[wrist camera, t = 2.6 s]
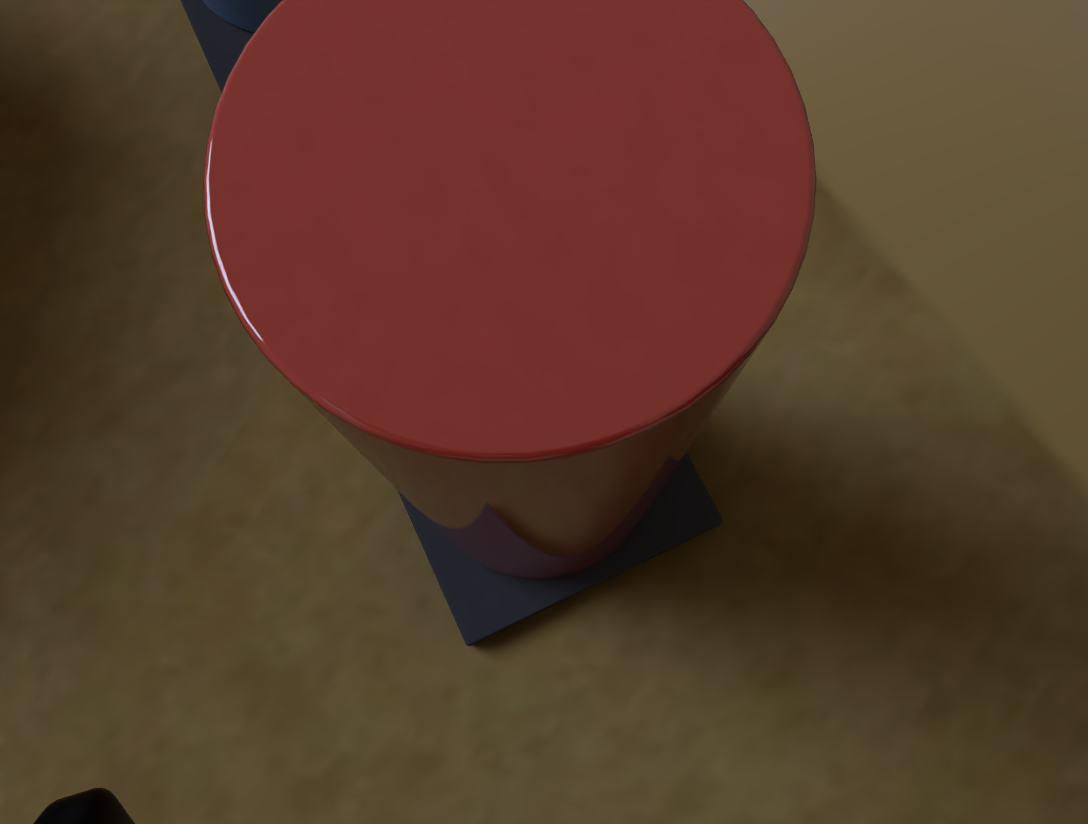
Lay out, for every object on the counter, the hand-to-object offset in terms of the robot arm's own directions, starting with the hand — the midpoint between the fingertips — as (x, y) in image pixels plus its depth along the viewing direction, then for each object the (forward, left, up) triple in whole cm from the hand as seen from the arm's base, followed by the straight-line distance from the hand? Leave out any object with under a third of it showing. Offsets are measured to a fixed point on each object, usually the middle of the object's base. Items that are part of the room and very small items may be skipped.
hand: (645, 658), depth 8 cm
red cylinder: (+4, -2, -10) cm, 11 cm away
